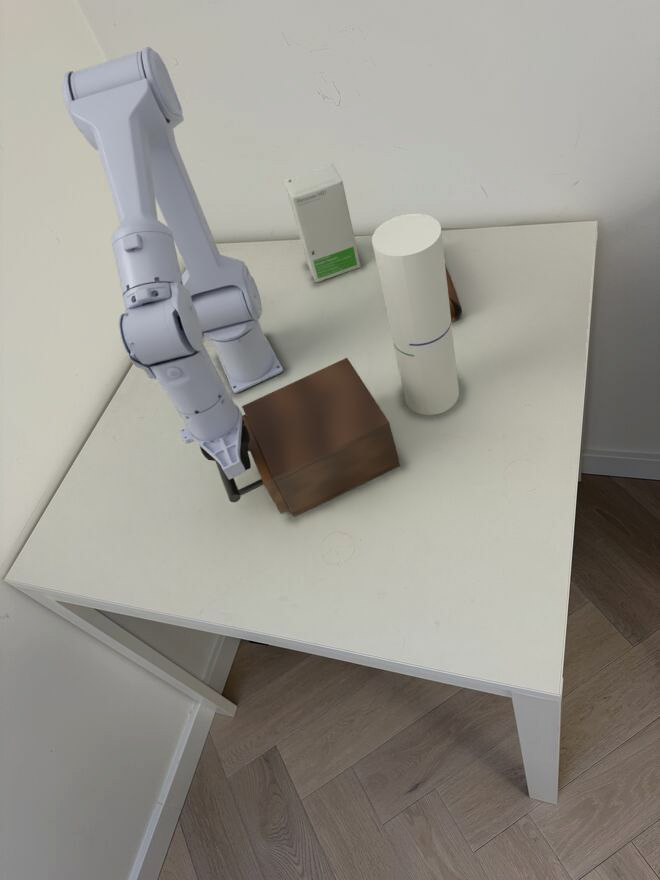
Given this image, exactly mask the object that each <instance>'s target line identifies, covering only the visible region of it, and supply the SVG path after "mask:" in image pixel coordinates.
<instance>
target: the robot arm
mask: <svg viewBox="0 0 660 880" xmlns="http://www.w3.org/2000/svg"><path fill="white" fill-rule="evenodd" d="M61 93H62V97H63V101H64V105H65V107H66V110H67V112H68V115H69V116H70V118H71V120H72V123H73V124H74V125H75V127H76V128H77V130H78V131H79V132H80V133H81V134H82V136H83V137H84V138H85V139H86V141H87V143H88V144H89V145H90V146H91V147H92V148H93V149H94V150H96V151H98V153H99V156H100V160H101V164H102V167H103V170H104V174H105V177H106V180H107V184H108V188H109V190H110V191H109V192H110V194H111V197H112V201H113V204H114V208H115V210H116V211H115V212H116V214H117V217H118V221H119V225H118V226H117V228H116V229H115V230H114V231H113V233H112V235H111V246H112V250H113V256H114V260H115V265H116V270H117V275H118V280H119V285H120V289H121V294H122V301H123V304H124V307H125V310H124V313H122V314H120V316H119V318H118V331H119V336H120V337H119V338H120V340H121V343H122V345H123V348H124V350H125V352H126V354H127V357H128V359H129V361H130V363H132V364H133V365H134V366H135V368H138V369H141V370H143V371H144V372H145V374H146V375H147V377H148V379H151V380H152V379H153V380H157V382H158V384H159V385H160V387H161V388H162V390H163V391H164V393H165V395H166V396H167V398H168V399H169V401H170V402H171V404H172V405H173V407H174V408H175V410H176V411H177V413H178V414H179V416H180V417H181V419H182V421H183V422H184V424H185V426H183V427H182V428H181V429H180V431H179V433H180V437H181V440H182V441H183V443H184V444H187V445H188V444H191V443H194V442H195V443H196V444H198V445H199V448H200V450H201V453H202V455H203V457H204V458H205V459H206V460H208V461H212V462H215V461H216V462H218V463H219V464H220V465H221V467H222V469H223V471H224V472H225V474H226V476H227V477H228V479H229V480H230V479H232V478H234V479H235V478H236V477H238V476H241V475H243V474H244V473H246V472H247V471H248V470H250V469H251V468H252V463H251V459H250V455H249V451H248V444H249V441H250V437H249V433H248V430H247V428H246V426H244V421H243V418H242V415H243V413H242V411H241V409H240V407H239V406H238V404H236V403H235V401H234V400H233V397H232V396H231V393H230V392H229V390H228V388H227V386H226V385H225V383H224V380H223V378H222V377H221V375H220V373H219V371H218V370H217V368H216V366H215V364H214V362H213V360H212V358H211V356H210V354H209V353H208V351H207V348H206V346H205V345H204V338H205V340H210V341H211V343H212V345H213V347H214V348H215V351H216V352H217V354H218V355H217V356H218V359H219V362H220V364H221V366H222V369H223V371H224V373H225V375H226V378H227V380H228V383H229V385H230V387H231V390H232V392H233V393H234V394H238V393H240V392H242V391H244V390H246V389H249V388H251V387H253V386H255V385H258V384H260V383H262V382H264V381H266V380H268V379H270V378H272V377H275V376H277V375H279V374H281V373H283V371H284V368H283V366H282V365H281V363H280V361H279V358H278V357H277V355H276V353H275V351H274V349H273V347H272V346H271V343H270V342H269V340H268V338H267V337H266V334H264V331H263V329H262V326H261V324H260V322H259V319H261V316H262V314H263V305H262V299H261V296H260V291H259V289H258V286H257V283H256V281H255V279H254V277H253V276H252V275H251V273H250V271H249V268H248V265H246V264H245V261H243V260H241V259H238V258H233V257H230V256H227V255H223V254H221V253H220V251H219V248H218V247H217V243H216V241H215V238H214V236H213V233H212V230H211V228H210V226H209V224H208V221H207V218H206V216H205V213H204V211H203V208H202V205H201V203H200V201H199V198H198V195H197V193H196V190H195V188H194V185H193V183H192V180H191V177H190V175H189V173H188V169H187V168H186V165H185V163H184V160H183V158H182V155H181V152H180V151H179V150H180V149H179V147H178V146H177V142H176V138H175V137H176V136H175V132H174V129H175V128H176V127H177V126H179V125H180V124H181V123H182V122H184V120H185V118H184V115H183V108H182V105H181V102H180V100H179V97H178V94H177V92H176V90H175V87H174V83H173V81H172V79H171V76H170V73H169V70H168V67H167V66H166V64H165V62H164V61H163V59H162V57H161V55H160V54H159V53H158V52H157V51H155V50H154V49H153V48H152V47H150V46H146V47H144V48H142V50H139V51H136V52H133V53H130V54H127V55H123V56H120V57H117V58H114V59H111V60H107V61H104V62H102V63H98V64H95V65H92V66H88V67H85V68H82V69H79V70H75V71H73V70H72V71H66V72H65V73H64V74H63V76H62V82H61ZM157 206H158V208H159V210H160V213H161V215H162V217H163V219H164V222H165V224H164V223H163V222H161V221H160V220H159V219H158V211H157ZM177 251H178V253H179V255H180V259H181V260H182V262H183V265H184V267H185V270H184V271H183V273H182V272H181V267H180V263H179V259H178V253H177ZM216 462H215V463H216Z"/></svg>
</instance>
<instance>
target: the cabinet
mask: <svg viewBox="0 0 660 880" xmlns="http://www.w3.org/2000/svg"><path fill="white" fill-rule="evenodd" d="M241 408H242V410H243V413H244V415H246V417H247V419H248V422H249V424H250V426H251V429H252V431H253V433H254V436H255V438H256V440H257V443H258V445H259V447H260V449H261V452H262V454H263V456H264V459H265V461H266V463H267V466H268V468H269V470H270V473H271V475H272V477H273V479H274V481H275V483H276V485H277V487H278V489H279V490H280V492H281V494H282V496H283V498H284V500H285V502H286V504H287V505H288V507H289V511H290V513H291V515H292V517H293V518H295V517H297V516H299V515H301V514H303V513H305V512H307V511H309V510H311V509H314V508H316V507H318V506H320V505H322V504H324V503H326V502H328V501H330V500H332V499H334V498H337V497H339V496H341V495H343V494H345V493H347V492H349V491H351V490H353V489H355V488H357V487H359V486H361V485H363V484H366V483H368V482H369V481H372V480H374V479H376V478H378V477H381V475H382V476H383V475H385V474H387V473H388V472H391V471H393V470H394V469H397V468H399V467H401V463H400V459H399V455H398V451H397V447H396V442H395V439H394V434H393V431H392V426H391V423H390V421H389V420H388V417H387V416H386V414H385V413H384V412H383V410H382V408H381V407H380V405H379V403H377V401H376V400H375V398H374V397H373V395H372V393H371V391H370V390H369V388H368V387H367V386H366V383H364V381H363V379H362V378H361V377H360V375H359V374H358V372H357V370H356V368H355V367H354V366H353V364H352V362H351V361H350V360H349V358H348V357H344V358H342V359H340V360H338V361H336V362H334V363H332V364H330V365H328V366H326V367H324V368H321V369H319V370H317V371H315V372H312V373H311V374H309V375H306V376H304V377H302V378H299V379H297V380H295V381H293V382H291V383H288V384H287V385H285V386H282V387H280V388H278V389H276V390H274V391H271V392H269V393H267V394H265V395H263V396H261V397H258V398H257V399H254V400H252V401H250V402H248V403H246V404H244V405H242V406H241Z"/></svg>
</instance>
